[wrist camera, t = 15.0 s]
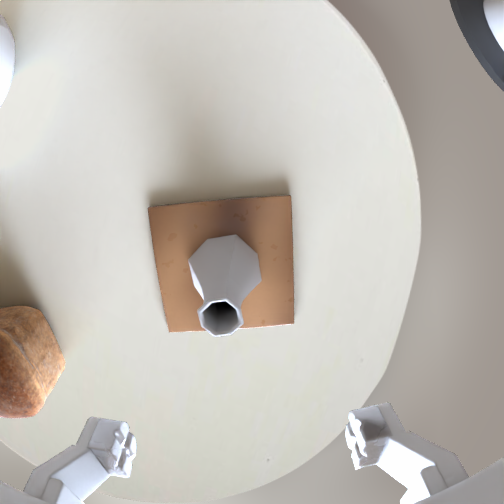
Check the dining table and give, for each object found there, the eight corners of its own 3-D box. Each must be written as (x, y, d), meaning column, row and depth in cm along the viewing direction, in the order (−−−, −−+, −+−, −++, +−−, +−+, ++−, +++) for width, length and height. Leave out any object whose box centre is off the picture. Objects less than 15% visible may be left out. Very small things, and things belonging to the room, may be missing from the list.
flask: (240, 221, 29) (241, 251, 20) (273, 282, 31) (288, 334, 22) (176, 255, 30) (150, 298, 20) (212, 312, 32) (204, 371, 22)
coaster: (290, 194, 29) (291, 195, 29) (293, 321, 33) (294, 324, 33) (149, 206, 29) (147, 207, 28) (169, 329, 33) (168, 332, 32)
